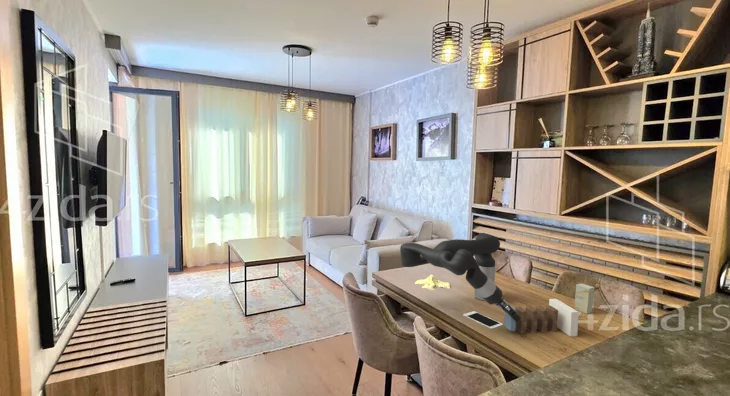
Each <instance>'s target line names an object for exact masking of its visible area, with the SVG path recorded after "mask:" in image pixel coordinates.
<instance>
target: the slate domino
mask: <svg viewBox="0 0 730 396" xmlns="http://www.w3.org/2000/svg"><path fill="white" fill-rule="evenodd" d="M509 305H510V306H511V308H512V309H513V310H514V311H515V312H516V307H514V306H513V305H511V304H509ZM503 326H504V327H506V328H507V330H509V332H516V328H515V327H516V321H515V320H514V319H513V318H512V317H511V316H509V314H507V313H505V312H504V323H503Z"/></svg>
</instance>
